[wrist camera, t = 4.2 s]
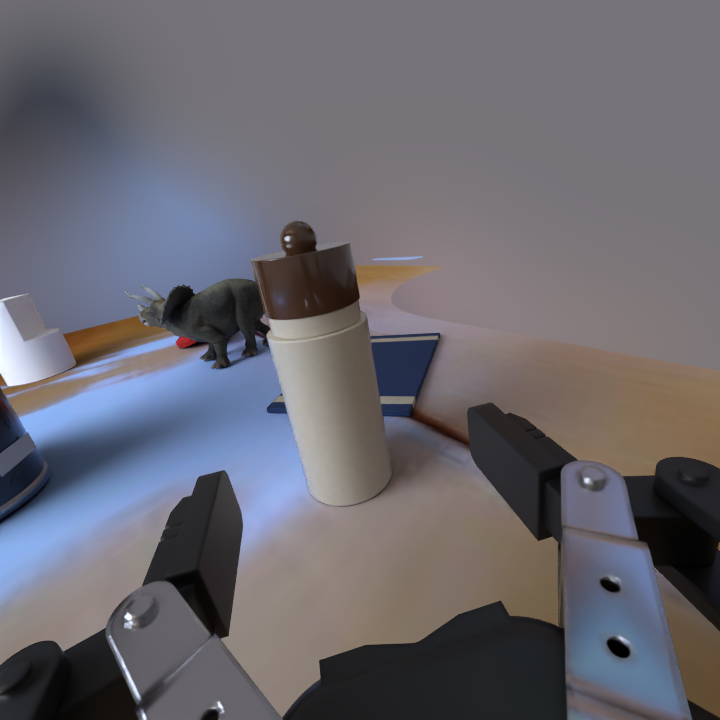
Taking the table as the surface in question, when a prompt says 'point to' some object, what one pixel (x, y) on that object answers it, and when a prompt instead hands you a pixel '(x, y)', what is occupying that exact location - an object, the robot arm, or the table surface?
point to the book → (394, 371)
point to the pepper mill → (325, 365)
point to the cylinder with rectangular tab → (29, 344)
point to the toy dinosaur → (209, 315)
